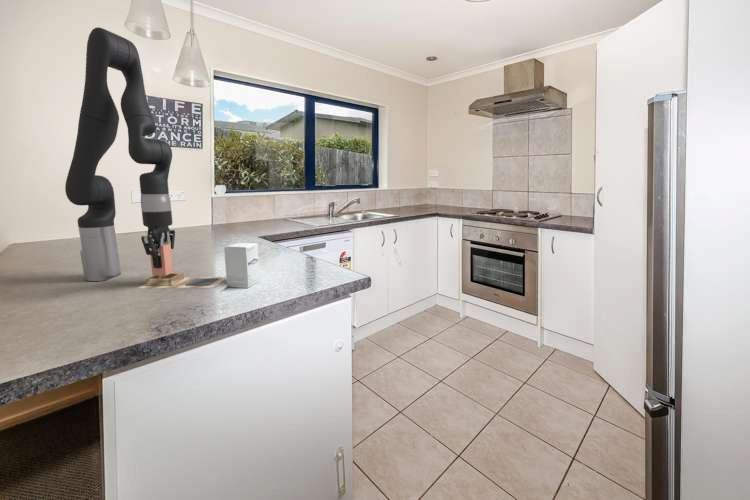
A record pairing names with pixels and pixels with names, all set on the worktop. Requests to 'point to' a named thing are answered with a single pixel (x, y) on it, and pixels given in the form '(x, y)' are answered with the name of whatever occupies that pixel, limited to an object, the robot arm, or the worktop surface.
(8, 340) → the worktop surface
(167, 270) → the block
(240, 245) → the supplement box
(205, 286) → the board
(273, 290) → the worktop surface
